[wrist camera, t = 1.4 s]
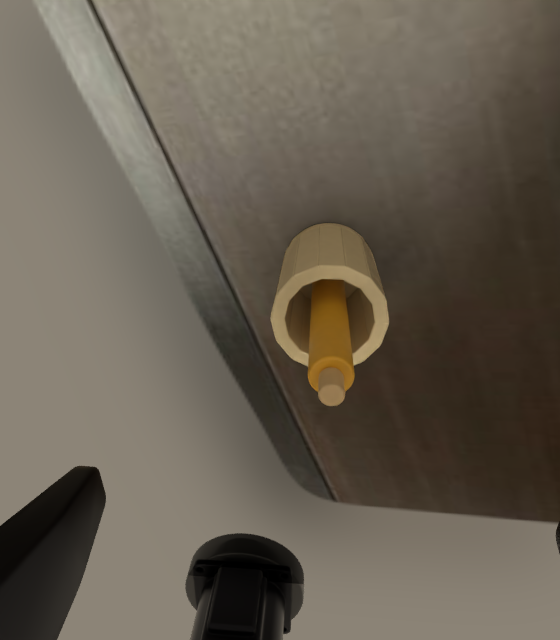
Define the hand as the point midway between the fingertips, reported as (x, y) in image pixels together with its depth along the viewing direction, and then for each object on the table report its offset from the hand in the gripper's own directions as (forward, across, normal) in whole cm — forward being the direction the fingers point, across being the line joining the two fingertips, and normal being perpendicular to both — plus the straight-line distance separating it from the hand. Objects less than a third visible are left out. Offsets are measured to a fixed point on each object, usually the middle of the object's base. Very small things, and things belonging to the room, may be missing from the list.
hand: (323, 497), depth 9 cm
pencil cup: (+14, 0, +1) cm, 14 cm away
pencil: (+13, 0, +1) cm, 13 cm away
